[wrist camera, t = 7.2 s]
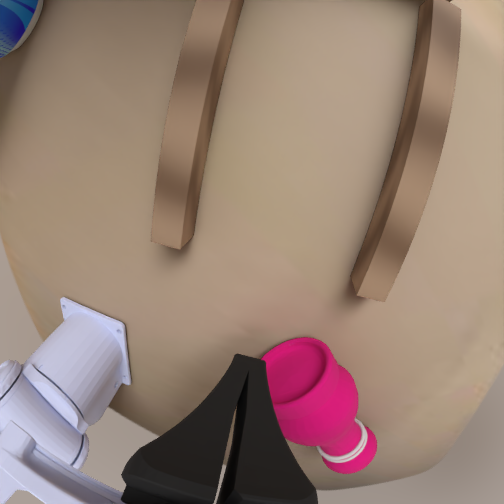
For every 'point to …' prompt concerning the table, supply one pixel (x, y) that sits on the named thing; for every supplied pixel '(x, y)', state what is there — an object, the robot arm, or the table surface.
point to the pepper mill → (318, 404)
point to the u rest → (402, 161)
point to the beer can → (17, 22)
